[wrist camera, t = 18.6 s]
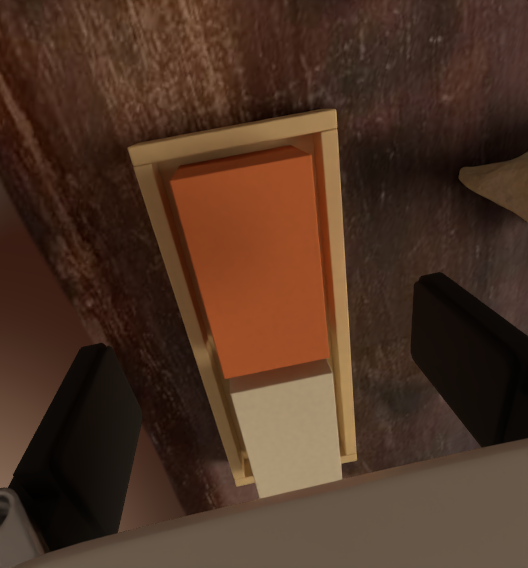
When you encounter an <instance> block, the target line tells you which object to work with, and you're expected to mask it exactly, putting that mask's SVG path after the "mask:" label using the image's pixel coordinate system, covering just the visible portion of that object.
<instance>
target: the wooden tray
mask: <svg viewBox="0 0 528 568" xmlns="http://www.w3.org/2000/svg"><path fill="white" fill-rule="evenodd" d="M336 128H337V115H336V109H318V110H313V111H308V112H302V113H297V114H291V115H286V116H281V117H275V118H270V119H264V120H259V121H254V122H248V123H243V124H237V125H232V126H227V127H221V128H216V129H210V130H205V131H200V132H194V133H189V134H183V135H178V136H172V137H167V138H162V139H156V140H151V141H145V142H140V143H136V144H134V145H132V146H130V147H128V152H129V155H130V158H131V161H132V164H133V166H134V171H135V174H136V177H137V180H138V184H139V187H140V190H141V193H142V196H143V199H144V202H145V205H146V208H147V211H148V214H149V218H150V221H151V224H152V227H153V230H154V233H155V236H156V239H157V242H158V245H159V248H160V252H161V255H162V258H163V261H164V264H165V267H166V270H167V273H168V276H169V279H170V282H171V285H172V289H173V292H174V295H175V298H176V301H177V304H178V307H179V310H180V313H181V316H182V319H183V323H184V326H185V329H186V332H187V335H188V338H189V341H190V344H191V347H192V350H193V353H194V357H195V360H196V363H197V366H198V369H199V372H200V375H201V378H202V381H203V384H204V387H205V390H206V394H207V397H208V400H209V403H210V406H211V409H212V412H213V415H214V418H215V421H216V424H217V428H218V431H219V434H220V437H221V440H222V443H223V446H224V449H225V452H226V455H227V458H228V462H229V465H230V468H231V471H232V474H233V477H234V480H235V483H236V486H241V485H246V484H250V483H255V480H254V477H253V473H252V470H251V466H250V463H249V459H248V455H247V452H246V448H245V445H244V441H243V438H242V434H241V431H240V427H239V423H238V420H237V416H236V413H235V409H234V406H233V402H232V398H231V395H230V378H228V379H224V376H223V373H222V369H221V365H220V362H219V358H218V355H217V351H216V347H215V344H214V340H213V337H212V333H211V329H210V326H209V322H208V319H207V315H206V311H205V308H204V304H203V301H202V297H201V293H200V290H199V286H198V283H197V279H196V275H195V272H194V268H193V265H192V261H191V257H190V254H189V250H188V247H187V243H186V239H185V236H184V232H183V229H182V225H181V221H180V218H179V214H178V211H177V207H176V203H175V200H174V196H173V193H172V189H171V185H170V180H171V178H172V177H173V175H174V174H175V172H176V171H177V169H178V168H179V166H180V165H185V164H190V163H196V162H201V161H207V160H212V159H218V158H223V157H229V156H234V155H240V154H245V153H250V152H256V151H261V150H267V149H272V148H278V147H283V146H289V145H292V146H294V147H296V148H298V149H300V150H302V151H304V152H306V153H308V154H310V155H311V156H312V166H313V178H314V189H315V200H316V211H317V222H318V234H319V245H320V256H321V267H322V279H323V290H324V301H325V312H326V324H327V335H328V346H329V358H326V359H327V361H328V364H329V366H330V368H331V370H332V373H333V383H334V394H335V405H336V416H337V427H338V438H339V449H340V459H341V464H342V463H346V462H351V461H355V460H357V453H356V438H355V421H354V404H353V387H352V370H351V353H350V336H349V318H348V301H347V284H346V267H345V250H344V233H343V216H342V199H341V182H340V164H339V147H338V130H337V129H336Z"/></svg>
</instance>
